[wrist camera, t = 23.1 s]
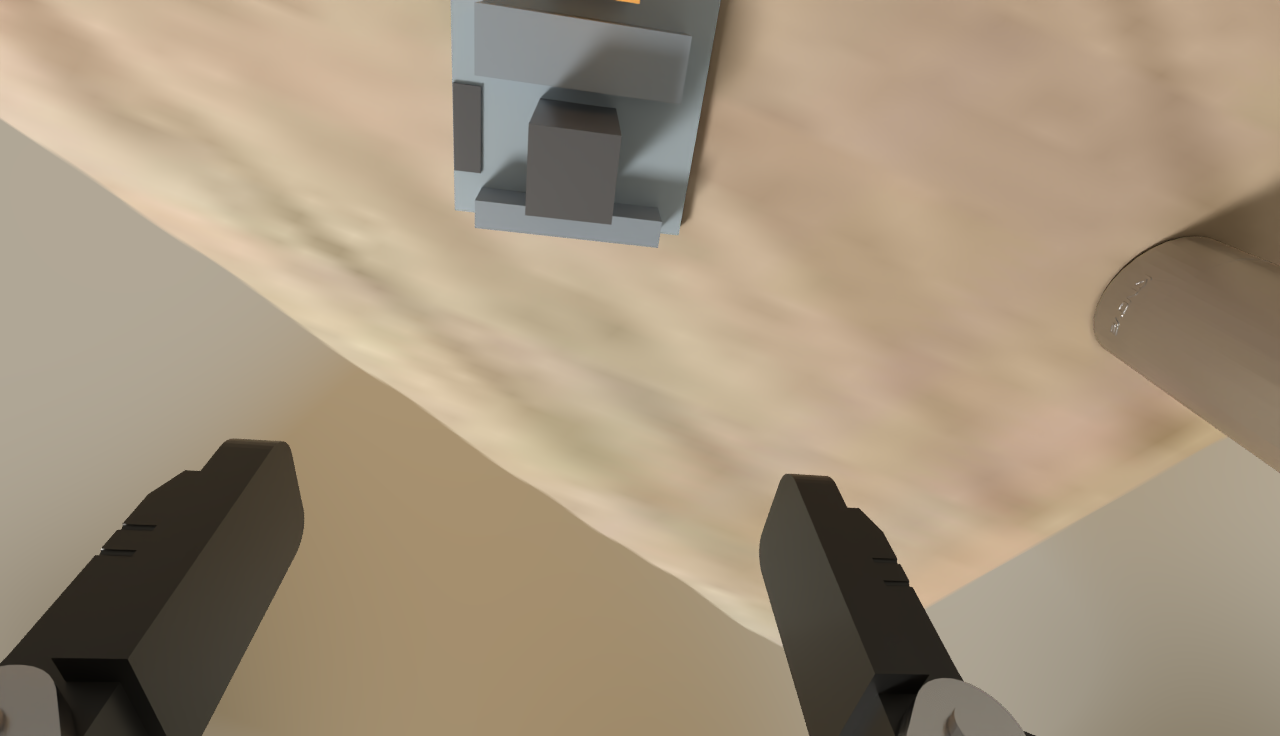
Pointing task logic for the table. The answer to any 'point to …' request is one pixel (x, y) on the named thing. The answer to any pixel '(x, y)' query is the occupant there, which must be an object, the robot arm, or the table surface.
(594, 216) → the black plug
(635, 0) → the orange plug
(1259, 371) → the robot arm
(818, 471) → the table surface
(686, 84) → the comb board
